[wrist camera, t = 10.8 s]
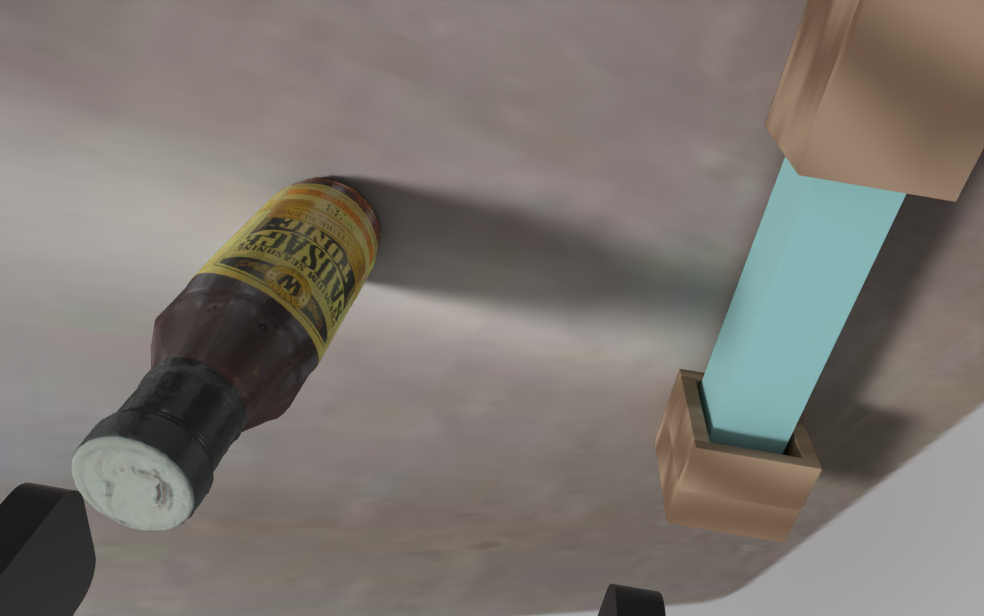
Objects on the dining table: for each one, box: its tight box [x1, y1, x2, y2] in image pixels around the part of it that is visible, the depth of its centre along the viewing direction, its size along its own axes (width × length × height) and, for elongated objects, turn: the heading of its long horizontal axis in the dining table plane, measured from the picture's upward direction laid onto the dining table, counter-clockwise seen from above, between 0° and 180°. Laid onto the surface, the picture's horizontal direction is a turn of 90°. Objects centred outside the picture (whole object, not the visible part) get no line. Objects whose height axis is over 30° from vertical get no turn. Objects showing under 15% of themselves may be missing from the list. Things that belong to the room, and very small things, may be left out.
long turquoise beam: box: [698, 157, 907, 455], centre depth 37 cm, size 18×4×4 cm, turn 172°
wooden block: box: [765, 0, 984, 202], centre depth 30 cm, size 9×6×6 cm
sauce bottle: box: [72, 177, 381, 531], centre depth 32 cm, size 6×6×20 cm
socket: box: [655, 370, 822, 543], centre depth 41 cm, size 6×6×7 cm
